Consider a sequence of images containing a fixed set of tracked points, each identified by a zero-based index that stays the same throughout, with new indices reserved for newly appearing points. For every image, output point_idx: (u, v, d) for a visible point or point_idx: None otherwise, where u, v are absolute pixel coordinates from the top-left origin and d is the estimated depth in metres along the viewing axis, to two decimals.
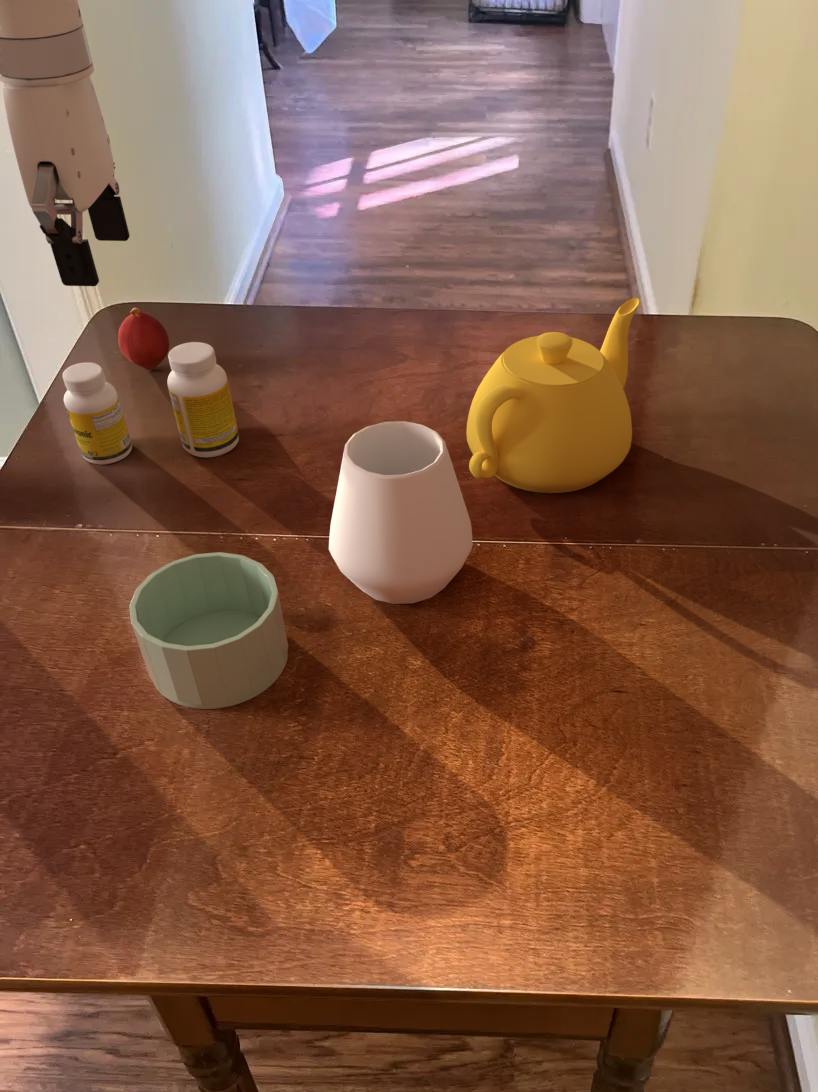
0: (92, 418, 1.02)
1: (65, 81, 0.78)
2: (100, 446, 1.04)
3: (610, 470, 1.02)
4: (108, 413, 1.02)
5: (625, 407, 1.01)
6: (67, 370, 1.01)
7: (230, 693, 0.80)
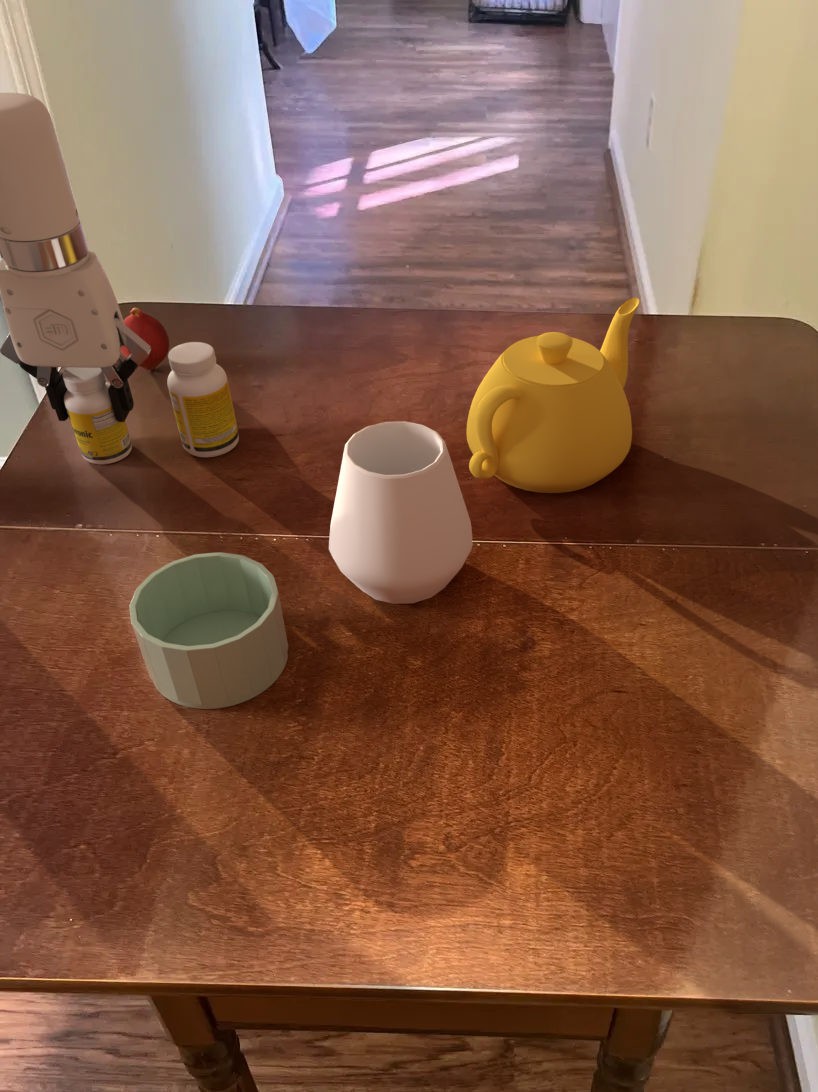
0: (92, 418, 1.02)
1: None
2: (100, 446, 1.04)
3: (610, 470, 1.02)
4: (108, 413, 1.02)
5: (625, 407, 1.01)
6: (67, 370, 1.01)
7: (230, 693, 0.80)
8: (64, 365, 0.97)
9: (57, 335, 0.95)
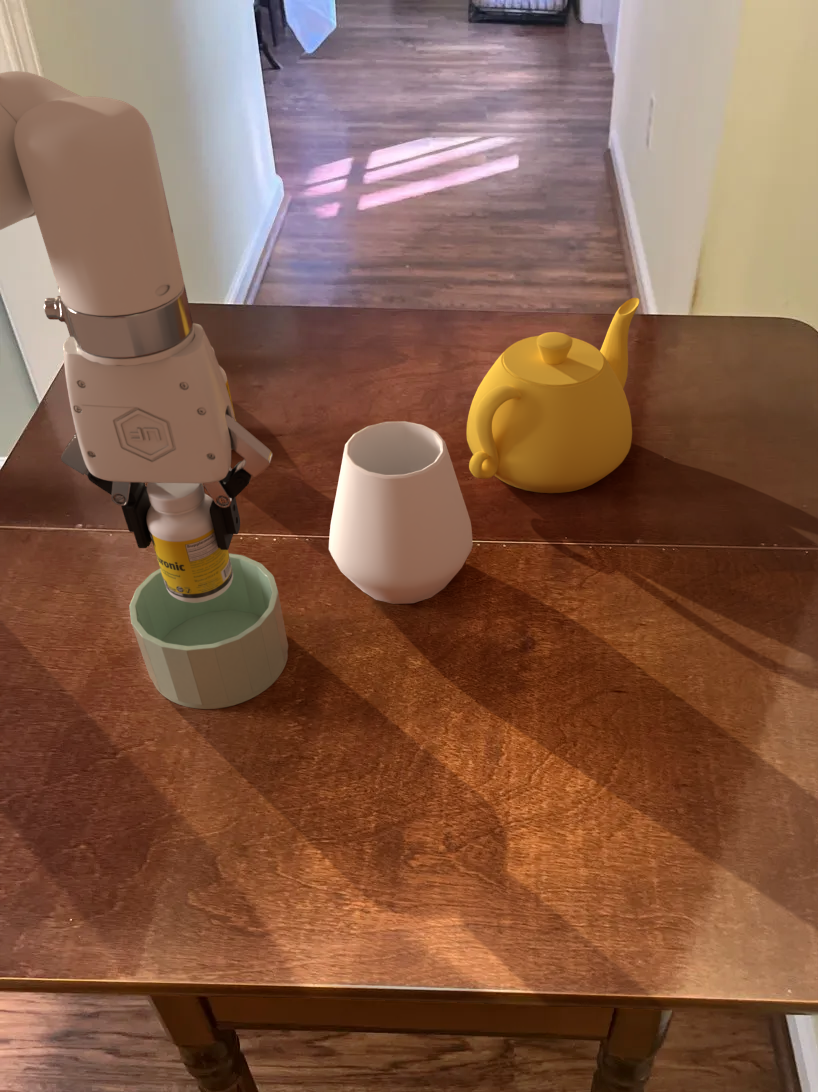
0: (186, 546, 0.73)
1: None
2: (194, 581, 0.76)
3: (610, 470, 1.02)
4: (208, 538, 0.74)
5: (625, 407, 1.01)
6: None
7: (230, 693, 0.80)
8: (153, 481, 0.69)
9: (146, 442, 0.67)
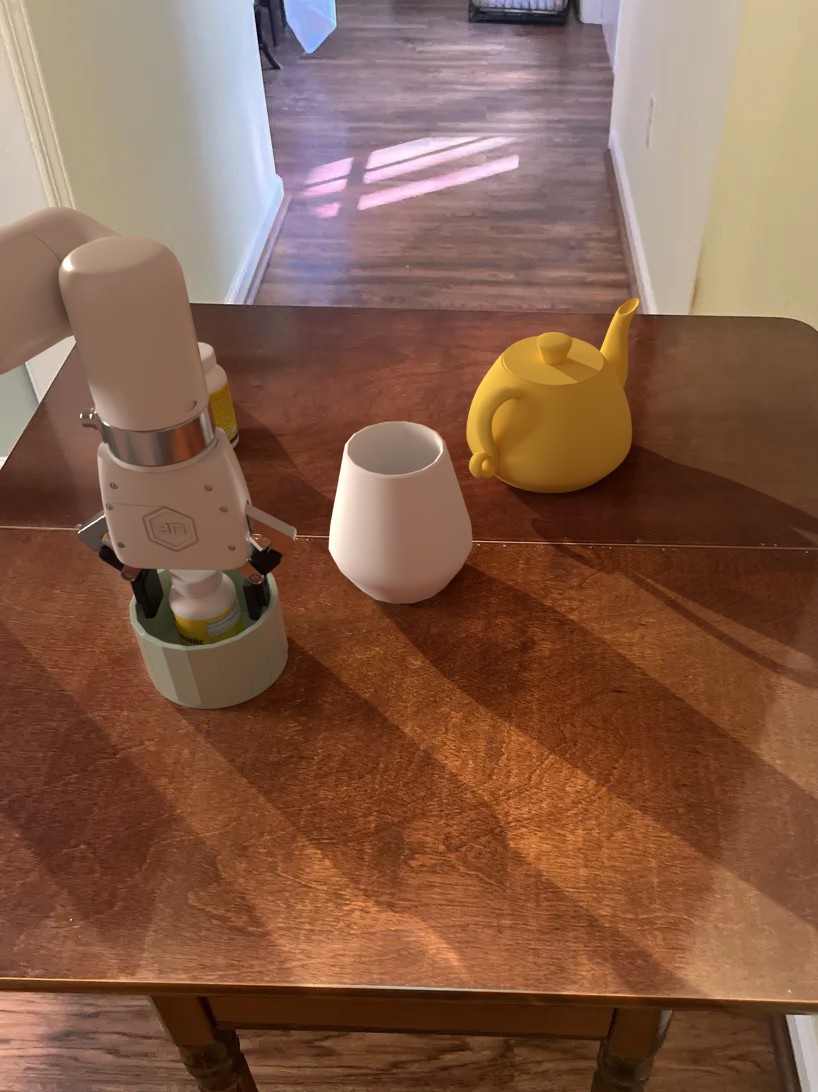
0: (205, 624, 0.79)
1: None
2: None
3: (610, 470, 1.02)
4: (226, 616, 0.80)
5: (625, 407, 1.01)
6: None
7: (230, 693, 0.80)
8: (177, 568, 0.74)
9: (172, 535, 0.72)
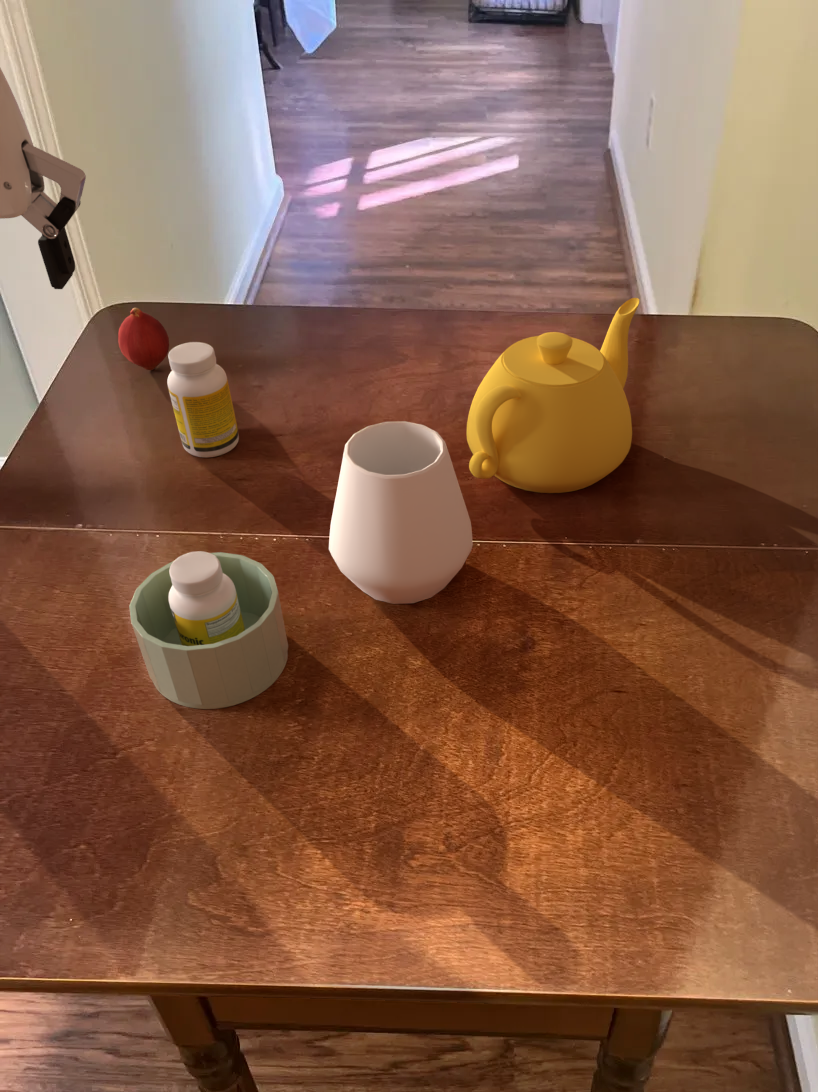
0: (205, 624, 0.79)
1: None
2: None
3: (610, 470, 1.02)
4: (226, 616, 0.80)
5: (625, 407, 1.01)
6: (175, 564, 0.78)
7: (230, 693, 0.80)
8: None
9: None
